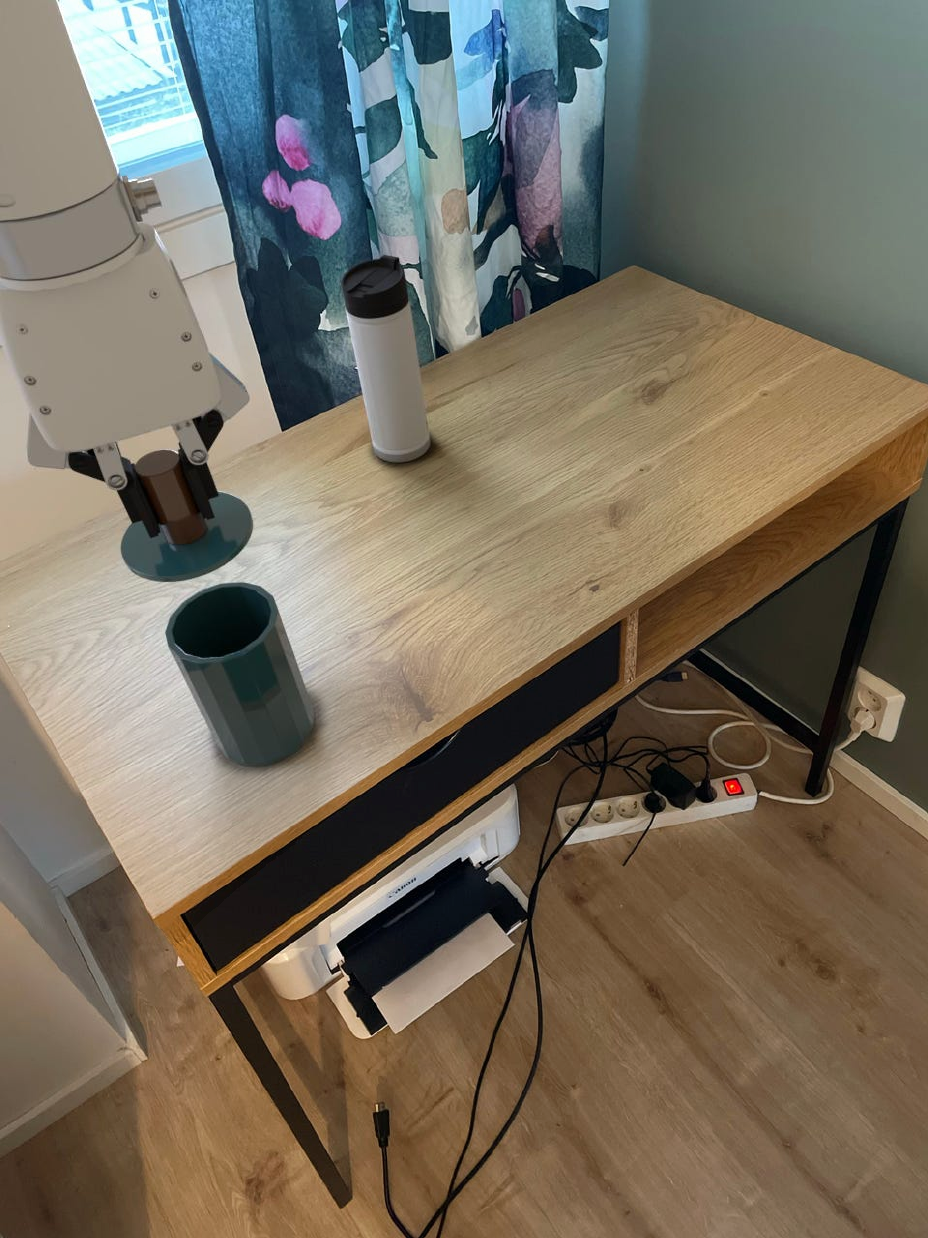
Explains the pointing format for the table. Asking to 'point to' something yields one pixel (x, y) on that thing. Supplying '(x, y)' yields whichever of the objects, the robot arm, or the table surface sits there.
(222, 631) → the pot
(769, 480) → the table surface
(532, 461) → the table surface
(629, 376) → the table surface
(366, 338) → the travel mug
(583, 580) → the table surface
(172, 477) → the lid
